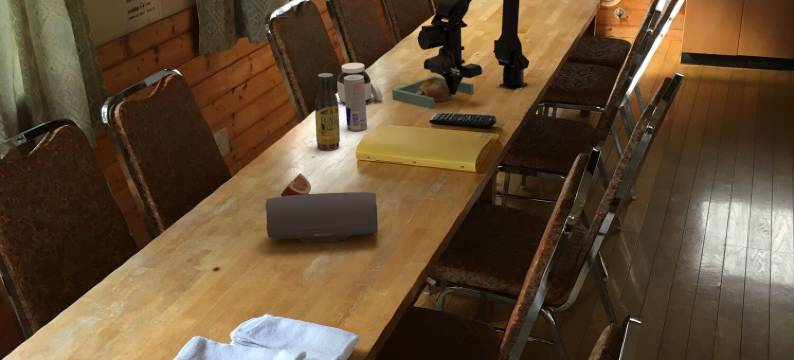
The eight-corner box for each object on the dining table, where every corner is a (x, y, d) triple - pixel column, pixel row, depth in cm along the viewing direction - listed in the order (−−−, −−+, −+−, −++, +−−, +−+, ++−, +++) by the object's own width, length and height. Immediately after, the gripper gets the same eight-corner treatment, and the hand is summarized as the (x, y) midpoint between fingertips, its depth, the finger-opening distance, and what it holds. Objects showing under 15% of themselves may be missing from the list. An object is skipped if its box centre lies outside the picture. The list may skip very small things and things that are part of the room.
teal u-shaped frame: (434, 84, 300) (434, 75, 298) (473, 93, 289) (473, 84, 288) (392, 99, 287) (392, 89, 286) (431, 108, 277) (431, 99, 275)
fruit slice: (290, 190, 224) (288, 171, 222) (316, 192, 222) (315, 173, 220) (276, 204, 216) (274, 184, 214) (303, 207, 214) (301, 186, 212)
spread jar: (334, 103, 286) (332, 66, 282) (361, 94, 294) (358, 57, 289) (362, 110, 279) (360, 72, 274) (388, 100, 286) (386, 63, 282)
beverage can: (370, 125, 265) (367, 74, 259) (362, 132, 260) (359, 80, 254) (351, 124, 267) (348, 73, 261) (344, 131, 262) (340, 79, 256)
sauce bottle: (322, 153, 246) (316, 79, 239) (313, 146, 252) (307, 74, 244) (345, 148, 249) (340, 75, 242) (335, 141, 254) (330, 70, 247)
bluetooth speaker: (377, 225, 203) (375, 183, 199) (378, 244, 194) (375, 200, 191) (272, 231, 203) (268, 188, 199) (268, 250, 194) (263, 206, 190)
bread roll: (444, 114, 283) (454, 91, 280) (412, 100, 283) (423, 77, 280) (446, 104, 292) (457, 81, 289) (416, 90, 292) (427, 68, 289)
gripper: (409, 45, 277) (412, 95, 283) (457, 54, 265) (458, 107, 271) (435, 37, 284) (437, 87, 290) (483, 46, 272) (483, 97, 278)
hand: (453, 94), depth 282 cm, fingers closed
